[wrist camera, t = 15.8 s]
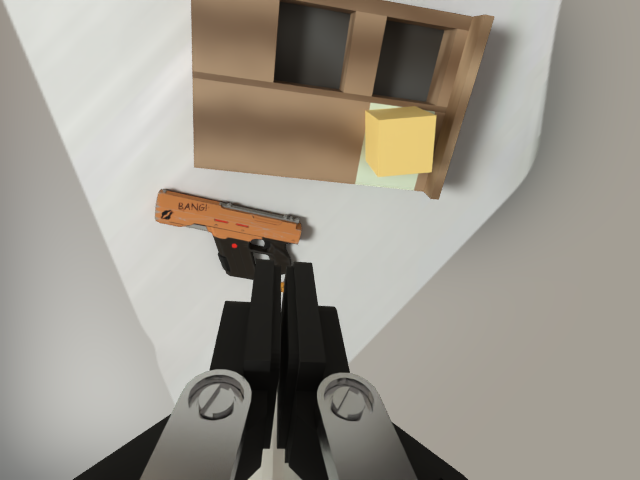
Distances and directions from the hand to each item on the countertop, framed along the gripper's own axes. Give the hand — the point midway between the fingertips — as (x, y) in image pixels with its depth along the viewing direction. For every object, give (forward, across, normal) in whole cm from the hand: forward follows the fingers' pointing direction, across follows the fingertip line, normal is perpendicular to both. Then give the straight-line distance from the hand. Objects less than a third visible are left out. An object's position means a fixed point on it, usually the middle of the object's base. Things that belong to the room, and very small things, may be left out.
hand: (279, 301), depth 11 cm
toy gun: (+28, +4, +13) cm, 31 cm away
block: (+24, -10, -1) cm, 26 cm away
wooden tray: (+27, -4, -4) cm, 28 cm away
